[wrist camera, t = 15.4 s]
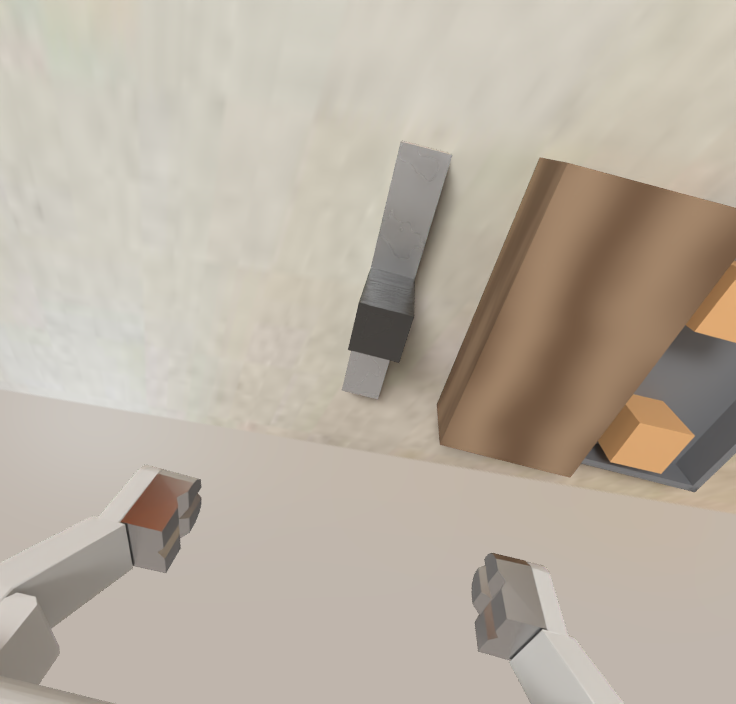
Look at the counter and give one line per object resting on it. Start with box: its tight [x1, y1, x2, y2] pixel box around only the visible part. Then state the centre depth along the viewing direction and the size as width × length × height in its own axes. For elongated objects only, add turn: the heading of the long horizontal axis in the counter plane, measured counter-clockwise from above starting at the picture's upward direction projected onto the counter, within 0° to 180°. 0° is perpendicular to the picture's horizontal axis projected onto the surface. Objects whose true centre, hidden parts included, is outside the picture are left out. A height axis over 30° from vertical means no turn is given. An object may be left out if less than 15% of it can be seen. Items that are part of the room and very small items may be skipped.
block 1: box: [598, 394, 695, 474], centre depth 29 cm, size 4×4×4 cm
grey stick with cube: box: [342, 141, 452, 399], centre depth 24 cm, size 3×18×9 cm, turn 167°
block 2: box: [686, 260, 736, 343], centre depth 23 cm, size 4×4×4 cm
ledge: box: [437, 158, 736, 477], centre depth 26 cm, size 10×20×5 cm, turn 167°
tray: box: [582, 259, 736, 492], centre depth 27 cm, size 12×20×3 cm, turn 167°
